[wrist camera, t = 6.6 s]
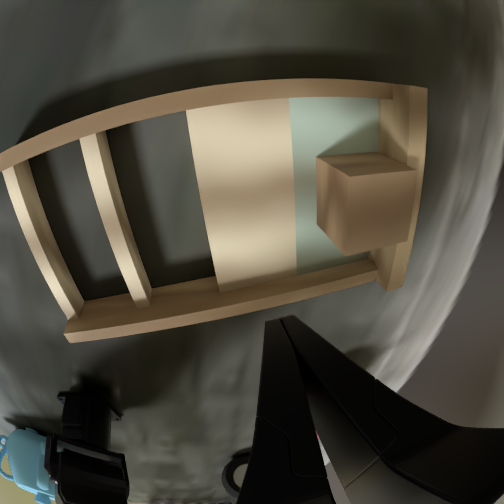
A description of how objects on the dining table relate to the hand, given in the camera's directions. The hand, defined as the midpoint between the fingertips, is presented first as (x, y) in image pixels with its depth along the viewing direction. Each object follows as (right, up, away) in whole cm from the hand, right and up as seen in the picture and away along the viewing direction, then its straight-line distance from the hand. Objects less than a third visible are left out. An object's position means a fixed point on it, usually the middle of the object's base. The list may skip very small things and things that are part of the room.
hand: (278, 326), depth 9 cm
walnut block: (+5, +6, +9) cm, 12 cm away
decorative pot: (-38, -32, +24) cm, 55 cm away
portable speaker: (-3, -45, +41) cm, 61 cm away
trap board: (-4, +6, +10) cm, 12 cm away
